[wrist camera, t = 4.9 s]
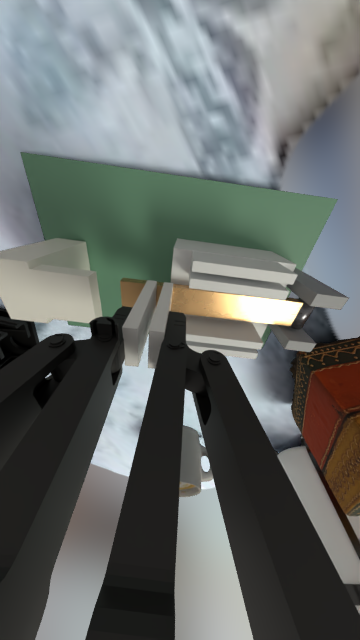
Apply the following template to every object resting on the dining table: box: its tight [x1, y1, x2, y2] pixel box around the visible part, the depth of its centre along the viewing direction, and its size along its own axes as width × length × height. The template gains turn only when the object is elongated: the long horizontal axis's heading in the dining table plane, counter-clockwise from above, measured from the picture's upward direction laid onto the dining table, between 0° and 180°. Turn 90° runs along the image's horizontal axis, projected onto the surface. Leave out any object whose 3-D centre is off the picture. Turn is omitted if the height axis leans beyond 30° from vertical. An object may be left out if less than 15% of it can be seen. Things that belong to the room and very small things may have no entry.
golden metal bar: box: [120, 278, 315, 330], centre depth 15 cm, size 17×3×1 cm, turn 83°
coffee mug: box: [179, 426, 213, 497], centre depth 39 cm, size 13×10×10 cm
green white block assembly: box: [20, 152, 349, 359], centre depth 17 cm, size 28×18×9 cm, turn 83°
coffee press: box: [274, 436, 360, 614], centre depth 31 cm, size 17×16×30 cm
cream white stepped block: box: [0, 238, 103, 323], centre depth 16 cm, size 7×5×8 cm
